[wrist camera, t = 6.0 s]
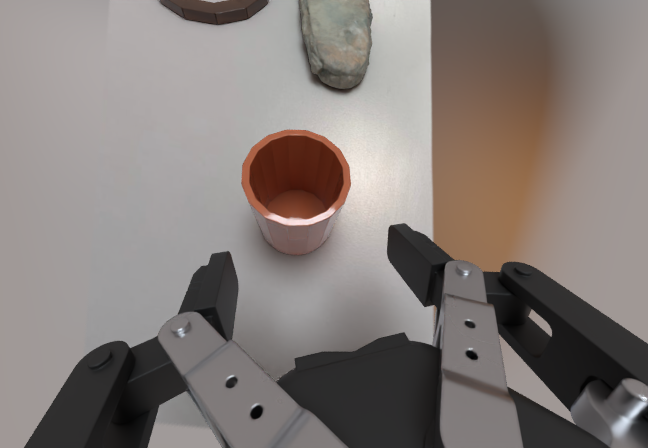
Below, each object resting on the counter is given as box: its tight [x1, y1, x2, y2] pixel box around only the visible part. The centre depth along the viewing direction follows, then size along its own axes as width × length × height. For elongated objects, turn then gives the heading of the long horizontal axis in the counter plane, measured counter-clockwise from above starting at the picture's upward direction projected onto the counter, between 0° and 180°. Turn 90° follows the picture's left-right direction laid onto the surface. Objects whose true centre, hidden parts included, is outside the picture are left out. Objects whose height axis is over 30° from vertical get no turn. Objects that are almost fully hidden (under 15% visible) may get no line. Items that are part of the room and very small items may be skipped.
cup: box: [241, 130, 351, 255], centre depth 19 cm, size 6×6×8 cm
